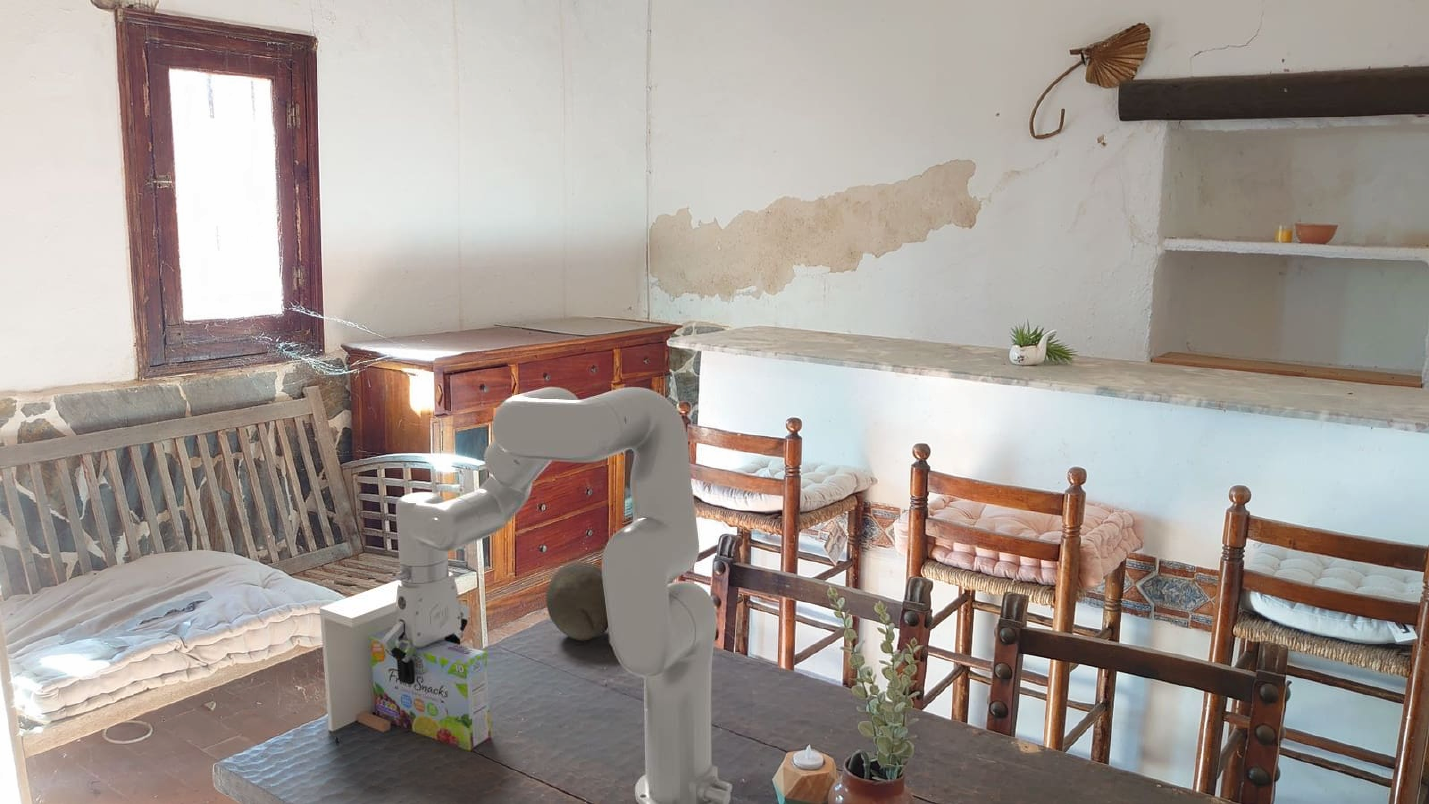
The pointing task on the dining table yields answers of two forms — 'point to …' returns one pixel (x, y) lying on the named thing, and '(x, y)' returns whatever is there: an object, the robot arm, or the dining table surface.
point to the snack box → (435, 692)
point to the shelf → (354, 654)
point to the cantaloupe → (578, 601)
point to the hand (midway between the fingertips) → (430, 671)
